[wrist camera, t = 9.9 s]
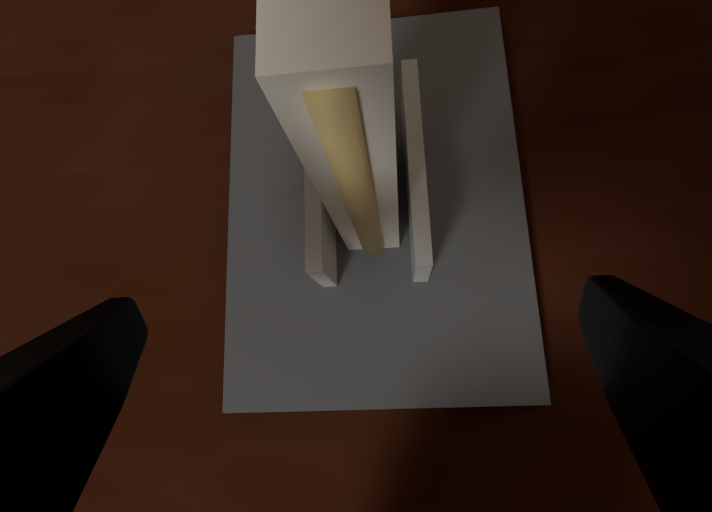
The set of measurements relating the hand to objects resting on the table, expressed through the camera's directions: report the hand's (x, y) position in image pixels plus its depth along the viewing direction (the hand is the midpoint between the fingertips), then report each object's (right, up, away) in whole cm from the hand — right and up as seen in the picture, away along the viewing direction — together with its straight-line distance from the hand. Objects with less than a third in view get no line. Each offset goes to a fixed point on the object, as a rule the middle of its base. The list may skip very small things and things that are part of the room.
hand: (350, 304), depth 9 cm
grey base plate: (+1, +3, +11) cm, 12 cm away
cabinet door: (+1, +4, +10) cm, 11 cm away
